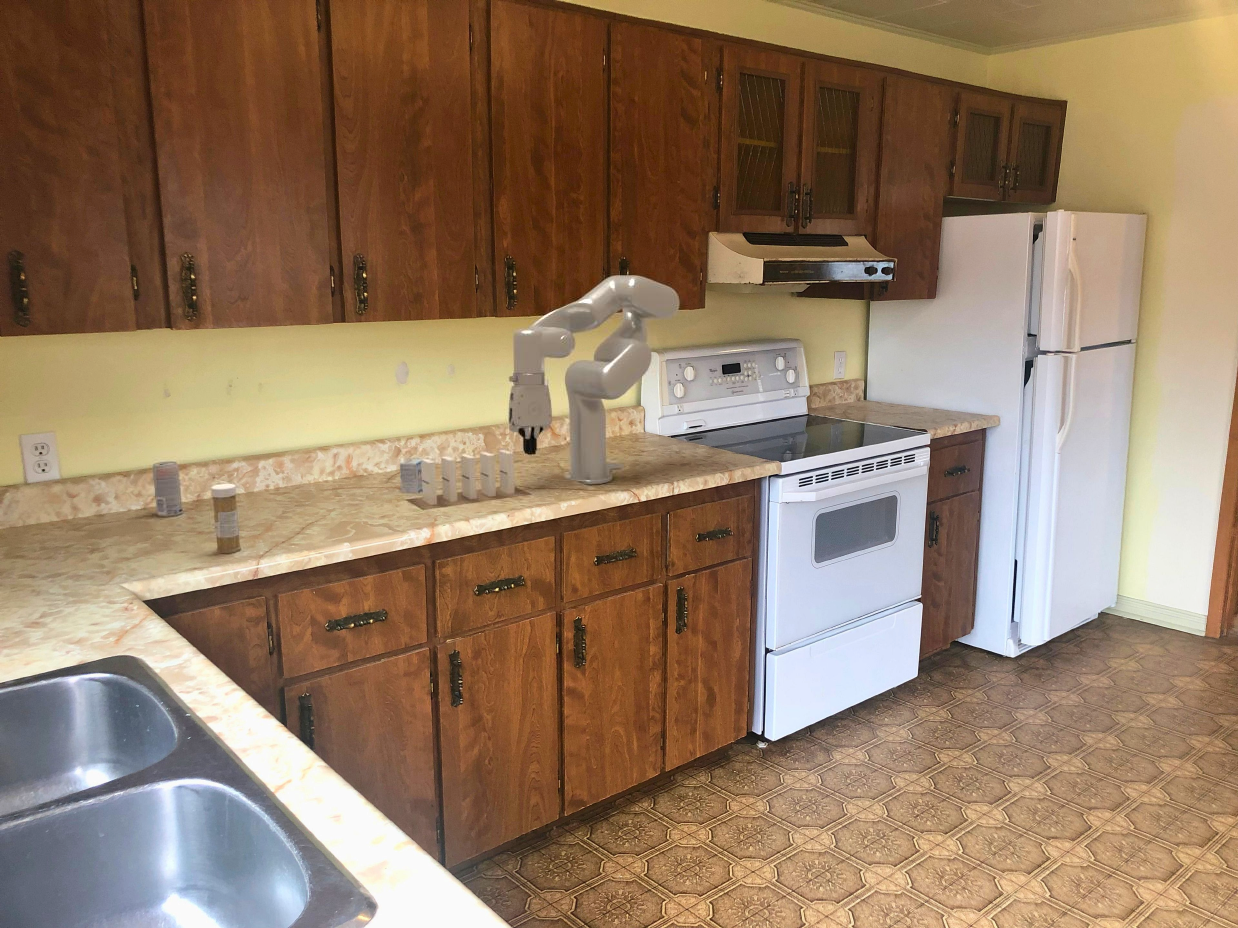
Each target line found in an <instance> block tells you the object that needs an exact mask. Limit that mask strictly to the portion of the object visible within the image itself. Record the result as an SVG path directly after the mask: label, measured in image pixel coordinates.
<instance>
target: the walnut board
mask: <svg viewBox="0 0 1238 928" xmlns="http://www.w3.org/2000/svg"><path fill="white" fill-rule="evenodd" d="M514 491H515V493H512V494H508V493H505V492H503V491H501V490H500V486H496V496H491V497H490V496H487V495H485V494H483V493H481V488H480V489H476V493H477V498H476V499H469V498H467V497H465V496H463V495H462V491H459V492H458V491H457V501H455V502H450V501H448V500H446V499H444V498H443V493H442V494H437V504H434V505H430V504H428V503H426V502H425V501H423V496H422V497H421V496H420V497H415V498H414V497H413V498H407V499H404V501H406V502H408V503H410V504H411V505H414V506H415V507H417V508H419V510H422V511H424V510H425V511H427V510H432V509H433V510H434V509H440V508H449V507H453V506H460V505H467V504H468V505H469V504H475V503H481V502H489V501H496V500H503V499H509V498H510V499H511V498H518V497H523V496H524V497H525V496H530V495H533V494H532V493H531V492H529V491H526V490H524V489H521V488H519V487H517V486H515V485H514Z"/></svg>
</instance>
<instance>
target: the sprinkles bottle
mask: <svg viewBox="0 0 1238 928" xmlns="http://www.w3.org/2000/svg"><path fill="white" fill-rule="evenodd" d="M210 490H211V491H210V493H211V494H210V495H211V497H212V503H213V515H214V517H213V518H214V519H213V520H214V529H215V531H214V532H215V537H216V545H217V546H216V547H217V548H216V551H217V553H219V554H232V553H237V552H239V551H241V549H242V546H241V545H240V544H241V541H240V526H239V516H238V515H239V514H238V507H237V498H236V497H237V486H236V485H235V484H233V483H221V484H215V485H212V486H211V487H210Z"/></svg>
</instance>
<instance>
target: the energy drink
mask: <svg viewBox="0 0 1238 928" xmlns="http://www.w3.org/2000/svg"><path fill="white" fill-rule="evenodd" d="M151 468H152V475H153V476H152V477H153V485H154V495H155V505H156V507H155V508H156V513H157V516H158V517H160V518H172V517H176V516H177V517H178V516H180V515H182V513H183V502H182V493H181V490H182V489H181V482H180V472H179V471H180V470H179V466H178V463H177V461H160V462H156V463H153V464H152V467H151Z"/></svg>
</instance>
